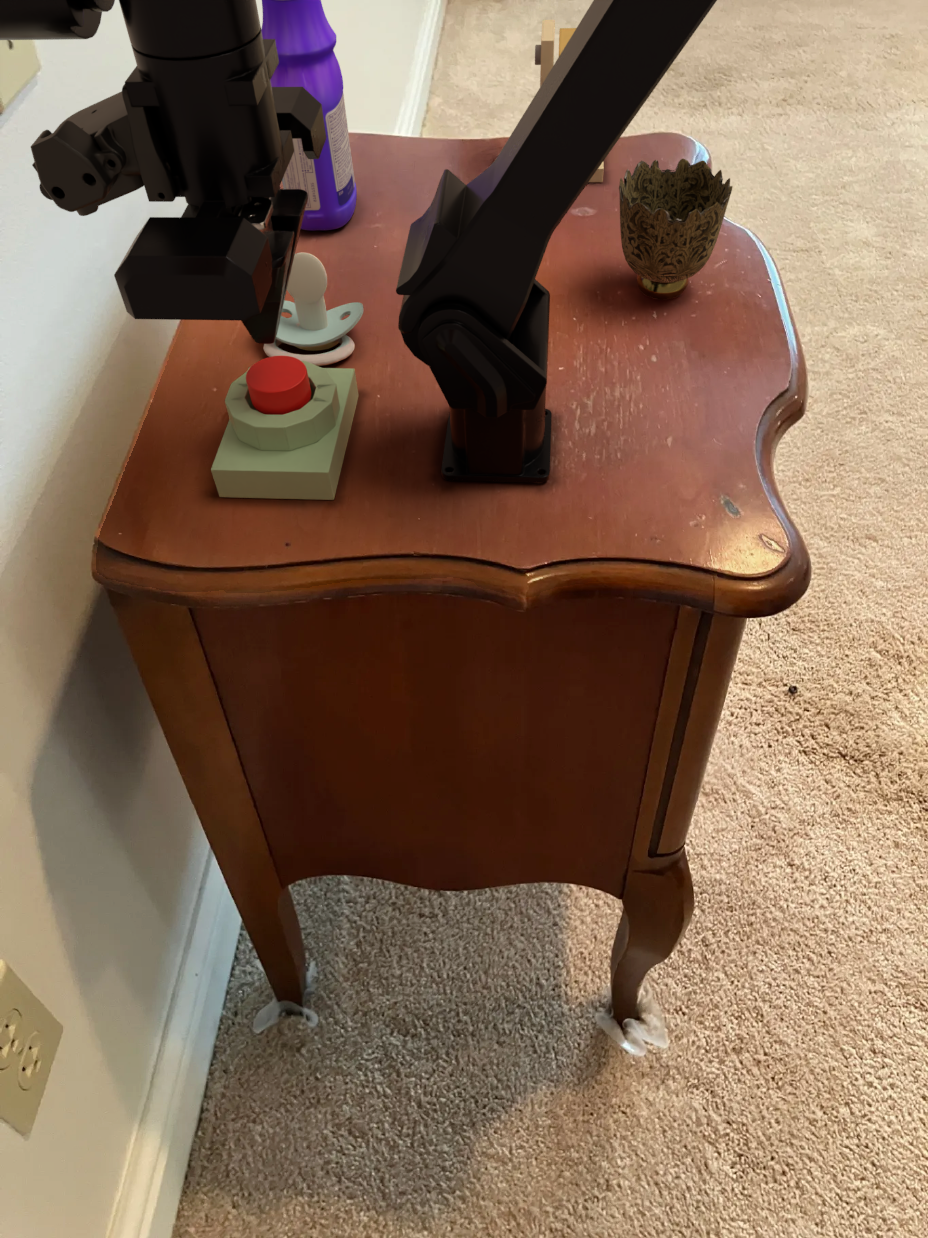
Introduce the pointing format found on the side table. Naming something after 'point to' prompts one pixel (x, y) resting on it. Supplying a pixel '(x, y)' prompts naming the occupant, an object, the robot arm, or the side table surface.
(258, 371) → the alarm button
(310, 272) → the pacifier
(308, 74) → the bottle
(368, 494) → the side table surface
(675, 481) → the side table surface
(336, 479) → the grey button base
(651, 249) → the cup
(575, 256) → the side table surface
